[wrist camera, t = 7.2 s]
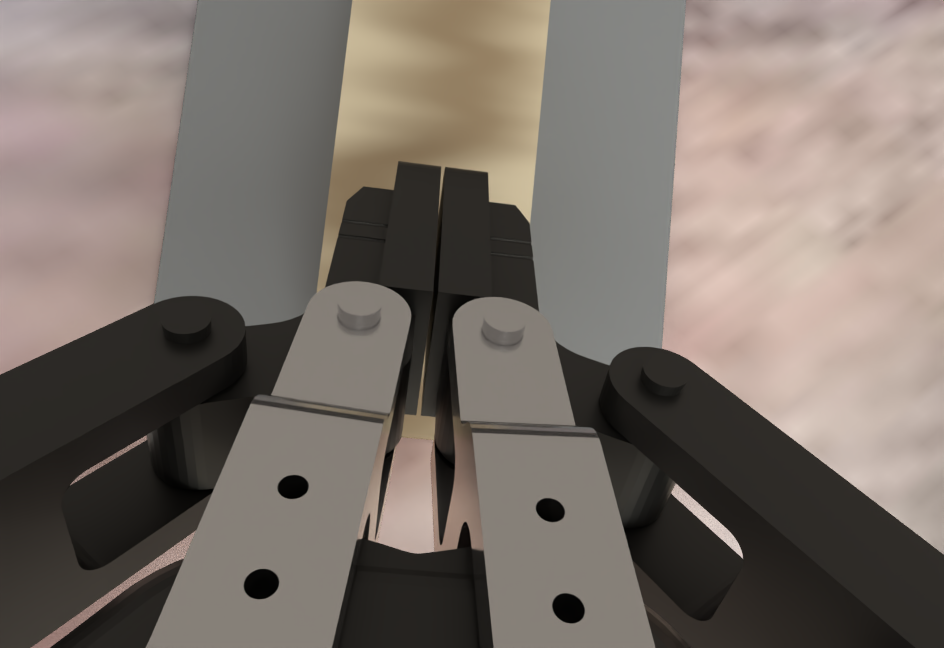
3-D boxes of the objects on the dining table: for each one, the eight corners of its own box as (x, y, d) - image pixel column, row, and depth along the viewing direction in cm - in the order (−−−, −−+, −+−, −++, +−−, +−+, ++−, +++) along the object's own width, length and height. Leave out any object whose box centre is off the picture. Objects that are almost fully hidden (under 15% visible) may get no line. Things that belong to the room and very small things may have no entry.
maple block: (300, 427, 17) (364, -98, 18) (319, 422, 21) (370, 2, 22) (509, 447, 17) (556, -69, 18) (485, 438, 21) (525, 24, 23)
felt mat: (148, 373, 21) (144, 372, 21) (217, -107, 23) (214, -116, 22) (651, 422, 22) (656, 423, 22) (684, -37, 24) (689, -44, 23)
